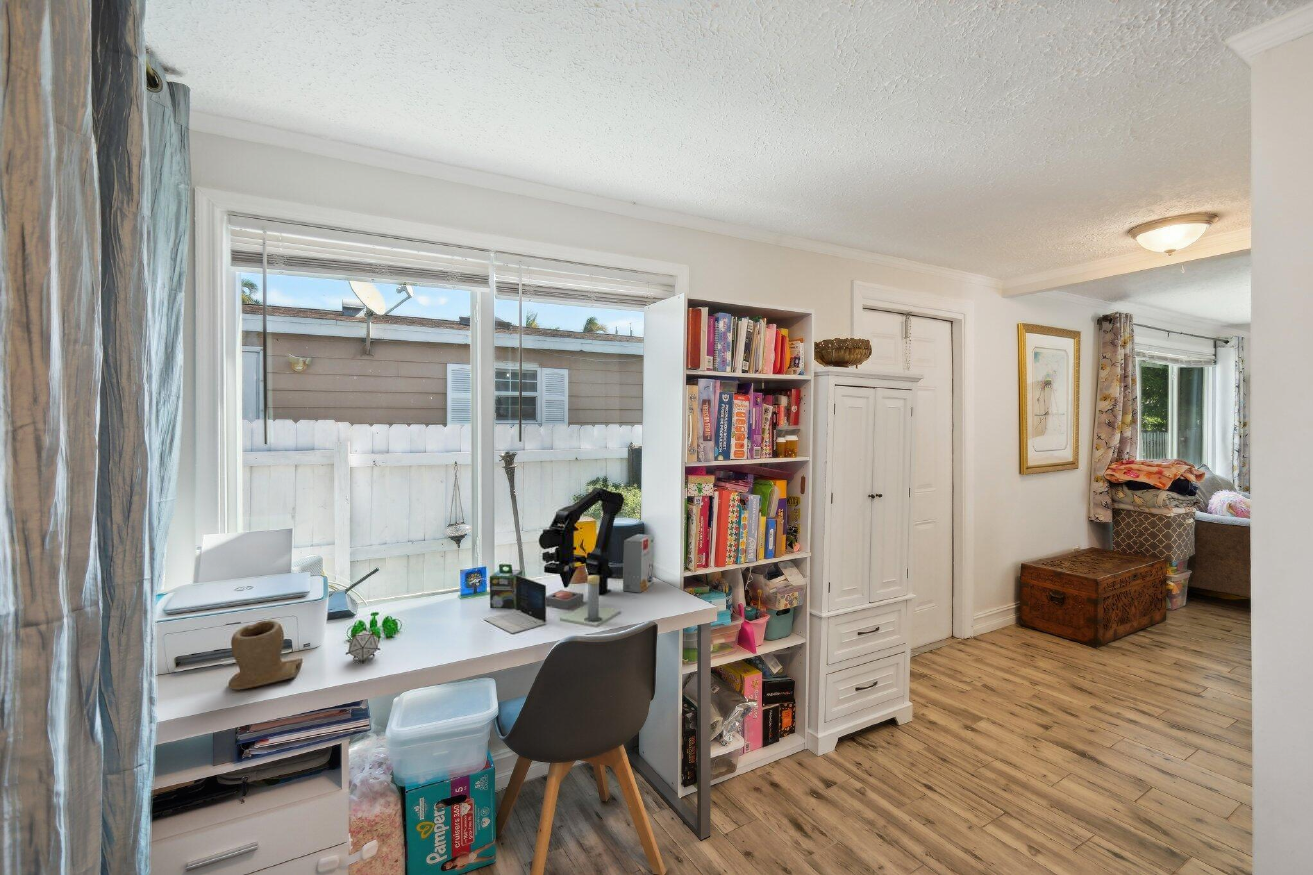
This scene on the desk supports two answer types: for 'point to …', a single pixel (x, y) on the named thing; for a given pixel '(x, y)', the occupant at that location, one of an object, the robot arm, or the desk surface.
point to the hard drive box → (638, 563)
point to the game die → (363, 645)
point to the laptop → (524, 608)
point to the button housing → (564, 601)
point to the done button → (564, 594)
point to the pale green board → (582, 616)
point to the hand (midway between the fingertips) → (566, 587)
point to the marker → (593, 597)
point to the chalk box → (503, 587)
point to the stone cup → (261, 656)
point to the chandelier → (387, 624)
